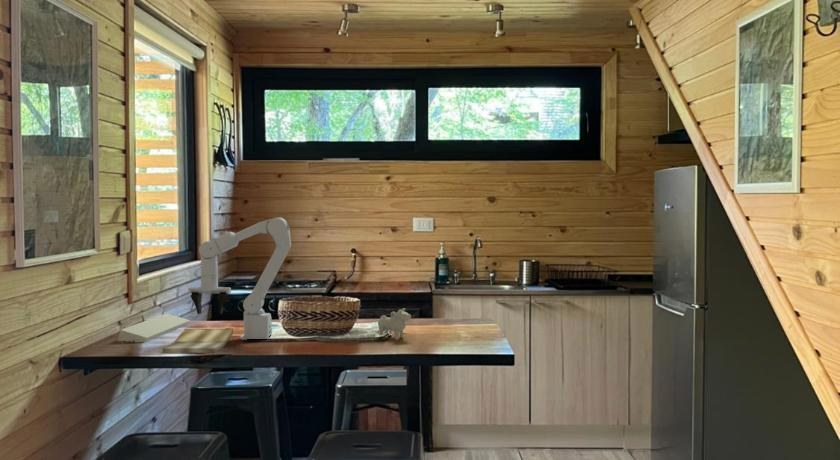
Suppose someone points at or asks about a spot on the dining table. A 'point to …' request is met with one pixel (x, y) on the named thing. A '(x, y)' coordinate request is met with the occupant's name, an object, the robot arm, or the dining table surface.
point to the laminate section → (193, 347)
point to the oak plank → (205, 335)
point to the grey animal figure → (394, 323)
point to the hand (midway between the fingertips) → (210, 313)
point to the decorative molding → (152, 328)
